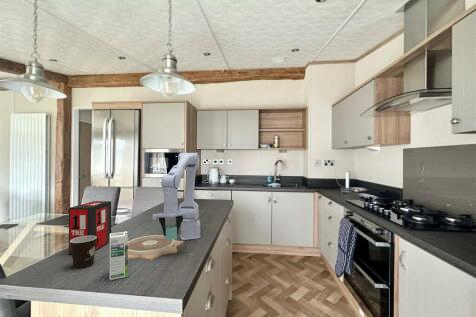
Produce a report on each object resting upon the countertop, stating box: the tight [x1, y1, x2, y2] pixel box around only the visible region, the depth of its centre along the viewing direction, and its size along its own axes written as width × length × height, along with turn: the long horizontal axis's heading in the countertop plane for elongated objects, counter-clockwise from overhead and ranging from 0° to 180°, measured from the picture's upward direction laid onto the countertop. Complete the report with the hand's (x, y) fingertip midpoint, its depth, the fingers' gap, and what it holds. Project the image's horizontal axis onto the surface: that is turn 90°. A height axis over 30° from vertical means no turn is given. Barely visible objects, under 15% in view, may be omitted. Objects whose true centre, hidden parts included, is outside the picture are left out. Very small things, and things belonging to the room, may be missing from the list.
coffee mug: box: [70, 236, 99, 270], centre depth 93 cm, size 12×9×10 cm
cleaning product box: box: [68, 200, 112, 256], centre depth 110 cm, size 16×9×20 cm, turn 178°
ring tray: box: [128, 234, 185, 261], centre depth 110 cm, size 30×30×2 cm
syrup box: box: [108, 230, 129, 281], centre depth 83 cm, size 6×6×14 cm
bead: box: [165, 223, 178, 240], centre depth 102 cm, size 4×4×5 cm
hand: (170, 234), depth 102 cm, fingers closed on bead, 4 cm apart
